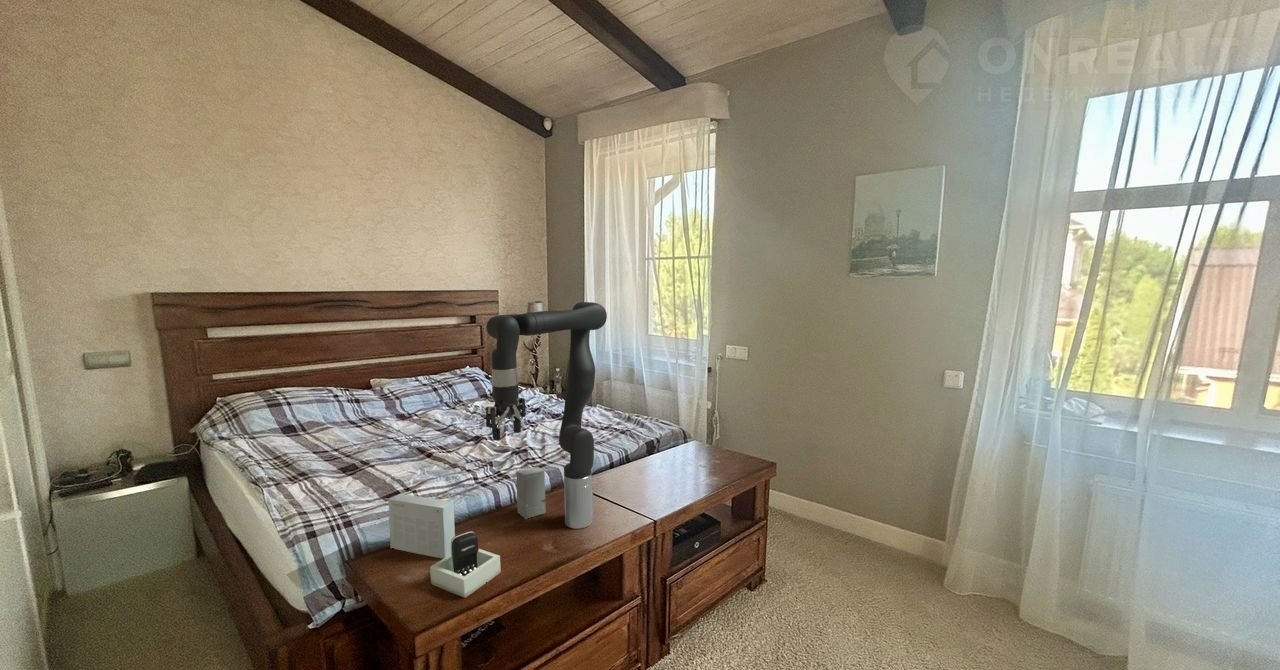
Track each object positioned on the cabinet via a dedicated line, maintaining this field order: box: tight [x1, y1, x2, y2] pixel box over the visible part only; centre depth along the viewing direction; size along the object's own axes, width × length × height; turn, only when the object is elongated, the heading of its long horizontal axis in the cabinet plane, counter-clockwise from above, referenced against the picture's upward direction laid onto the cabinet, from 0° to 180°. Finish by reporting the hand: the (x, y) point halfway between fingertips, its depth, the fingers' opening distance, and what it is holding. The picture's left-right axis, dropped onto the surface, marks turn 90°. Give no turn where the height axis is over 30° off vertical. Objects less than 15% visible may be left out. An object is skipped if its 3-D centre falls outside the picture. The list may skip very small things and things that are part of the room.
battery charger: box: [451, 530, 480, 576], centre depth 140 cm, size 7×4×11 cm, turn 131°
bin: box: [429, 548, 502, 599], centre depth 140 cm, size 13×13×5 cm
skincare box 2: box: [515, 465, 546, 520], centre depth 178 cm, size 8×7×16 cm
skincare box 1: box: [387, 493, 456, 560], centre depth 155 cm, size 21×6×16 cm, turn 71°
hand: (507, 436), depth 151 cm, fingers open, 8 cm apart
